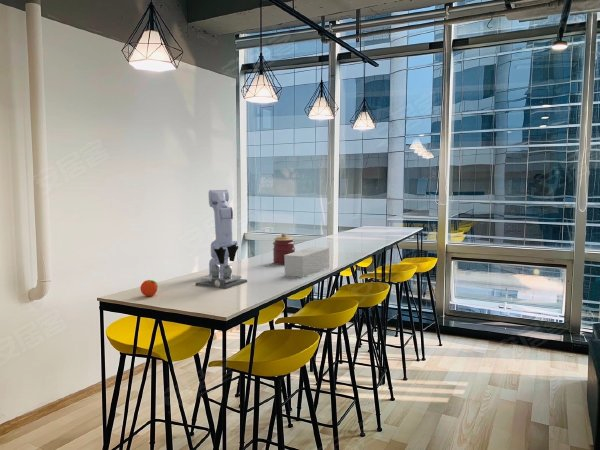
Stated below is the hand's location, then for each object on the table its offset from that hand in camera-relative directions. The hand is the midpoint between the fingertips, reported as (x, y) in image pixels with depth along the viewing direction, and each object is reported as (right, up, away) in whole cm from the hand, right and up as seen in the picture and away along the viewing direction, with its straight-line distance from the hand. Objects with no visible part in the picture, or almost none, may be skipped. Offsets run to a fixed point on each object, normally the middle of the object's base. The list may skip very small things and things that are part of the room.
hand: (226, 262), depth 223 cm
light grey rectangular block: (+39, -7, +31) cm, 50 cm away
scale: (-3, -10, +3) cm, 11 cm away
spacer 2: (0, -7, +1) cm, 7 cm away
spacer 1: (-6, -7, +4) cm, 10 cm away
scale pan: (-3, -9, +2) cm, 10 cm away
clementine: (-30, -13, -20) cm, 38 cm away
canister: (+25, -5, +58) cm, 63 cm away
